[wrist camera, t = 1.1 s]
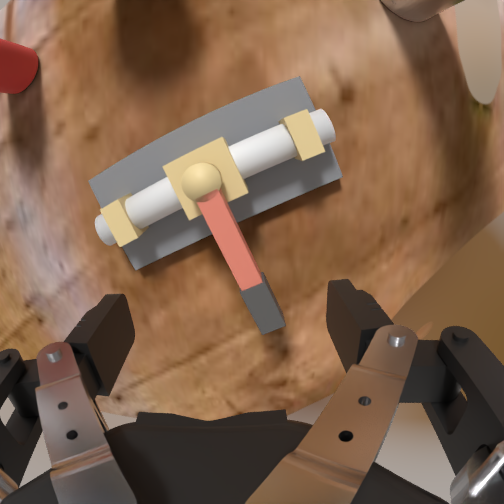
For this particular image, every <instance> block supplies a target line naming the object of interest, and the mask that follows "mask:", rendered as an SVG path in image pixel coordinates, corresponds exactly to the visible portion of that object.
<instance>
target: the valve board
mask: <svg viewBox="0 0 504 504" xmlns="http://www.w3.org/2000/svg"><path fill="white" fill-rule="evenodd" d="M335 139H336V136H335V131H334V128H333V125H332V123H331V121H330V119H329V117H328V115H327V114H326V113H325V111H324V110H322V109H319V110H315V108H314V106H313V103H312V101H311V99H310V97H309V95H308V93H307V90H306V88H305V86H304V84H303V82H302V80H301V78H300V76H299V77H296V78H293V79H290V80H288V81H285V82H282V83H279V84H277V85H274V86H271V87H269V88H266V89H264V90H261V91H259V92H256V93H254V94H251V95H249V96H246V97H244V98H242V99H239V100H237V101H235V102H232V103H230V104H228V105H226V106H223V107H221V108H219V109H217V110H215V111H212V112H210V113H208V114H206V115H204V116H202V117H200V118H198V119H196V120H194V121H192V122H190V123H188V124H186V125H184V126H182V127H180V128H178V129H176V130H174V131H172V132H170V133H168V134H166V135H164V136H163V137H161V138H159V139H157V140H155V141H153V142H152V143H150V144H148V145H146V146H144V147H143V148H141V149H139V150H137V151H136V152H134V153H132V154H131V155H129V156H127V157H126V158H124V159H122V160H121V161H119V162H117V163H116V164H114V165H112V166H111V167H109V168H108V169H106V170H105V171H103V172H101V173H100V174H98V175H97V176H95V177H94V178H92V179H91V180H89V181H88V182H89V184H90V186H91V188H92V190H93V192H94V194H95V196H96V198H97V200H98V202H99V204H100V206H101V208H102V209H101V210H100V211H101V213H102V214H100V215H99V216H97V217H96V219H95V227H96V231H97V233H98V235H99V237H100V238H101V240H102V241H103V242H104V243H105V244H107V245H113V244H115V243H116V242H117V243H118V245H119V247H121V246H122V248H123V249H124V251H125V253H126V255H127V256H128V258H129V260H130V262H131V263H132V265H133V267H134V269H135V270H137V269H139V268H142V267H144V266H146V265H148V264H150V263H152V262H154V261H156V260H158V259H160V258H162V257H164V256H167V255H169V254H171V253H173V252H175V251H177V250H179V249H181V248H184V247H186V246H188V245H190V244H192V243H194V242H196V241H199V240H201V239H203V238H205V237H207V236H209V235H212V232H211V230H210V228H209V226H208V224H207V222H206V220H205V218H204V216H203V214H202V212H201V210H200V208H199V206H198V204H197V202H195V201H192V200H191V199H189V198H188V197H187V196H186V195H185V194H184V192H183V190H182V186H181V180H182V176H183V174H184V172H185V171H186V170H187V169H188V168H189V167H190V166H192V165H194V164H197V163H200V162H208V163H211V164H213V165H215V166H216V167H217V168H218V169H219V171H220V173H221V175H222V185H221V188H220V189H221V191H222V193H223V195H224V197H225V199H226V201H227V203H228V205H229V207H230V209H231V212H232V214H233V216H234V218H235V220H236V222H237V223H238V222H240V221H242V220H245V219H247V218H249V217H251V216H254V215H256V214H258V213H260V212H263V211H265V210H267V209H269V208H272V207H274V206H276V205H278V204H281V203H283V202H285V201H288V200H290V199H292V198H295V197H297V196H299V195H301V194H304V193H306V192H308V191H311V190H313V189H316V188H318V187H320V186H323V185H325V184H327V183H330V182H332V181H334V180H337V179H339V178H342V177H343V176H342V173H341V171H340V168H339V165H338V163H337V160H336V158H335V155H334V153H333V150H332V148H331V145H330V143H331V142H334V141H335Z"/></svg>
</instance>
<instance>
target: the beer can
mask: <svg viewBox="0 0 504 504" xmlns="http://www.w3.org/2000/svg"><path fill="white" fill-rule="evenodd" d="M37 68H38V56H37V54H36V52H35V51H34V50H33V49H30V48H27V47H24V46H22V45H19V44H16V43H12V42H9V41H6V40H3V39H0V92H1V93H10V94H16V93H20V92H21V91H23V90H25V89H26V88H27V87H28V86H29V85H30V83H31V82H32V80H33V79H34V77H35V75H36V72H37Z"/></svg>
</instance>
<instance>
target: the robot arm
mask: <svg viewBox="0 0 504 504" xmlns="http://www.w3.org/2000/svg"><path fill="white" fill-rule="evenodd" d="M381 1H382V2H383V3H384V4H385V6H386V7H387V8H389V9H390V10H391V11H392V12H393V13H395V14H396V15H398V16H400V17H402V18H404V19H406V20H409V21H413V22H422V21H425V20H427V19H429V18H431V17H433V16H435V15H436V14H438V13H440V12H442V11H444V10H446V9H448V8H450V7H452V6H454V5H456V4H458V3H460V2H462V1H464V0H381ZM326 322H327V328H328V332H329V334H330V336H331V339H332V341H333V343H334V346H335V348H336V350H337V352H338V355H339V357H340V359H341V362H342V364H343V367H344V369H345V371H346V375H345V377H344V379H343V380H342V382H341V384H340V385H339V387H338V388H337V390H336V392H335V393H334V395H333V396H332V398H331V399H330V401H329V403H328V404H327V405H326V407H325V408H324V410H323V411H322V413H321V415H320V416H319V417H318V419H317V420H316V422H315V423H314V425H311V424H308V423H303V422H299V421H293V420H287V416H286V409H285V410H275V411H263V412H248V413H244V414H240V415H236V416H231V417H227V418H222V419H218V420H213V421H204V420H199V419H194V418H190V417H185V416H181V415H176V414H169V413H148V412H139V413H138V416H137V419H136V422H133V423H128V424H124V425H121V426H118V427H115V428H113V429H110V430H109V428H108V426H107V424H106V422H105V419H104V417H103V415H102V413H101V411H100V409H99V406H98V404H97V402H96V400H95V398H96V395H102V396H109V395H110V393H111V391H112V388H113V386H114V384H115V382H116V379H117V377H118V375H119V373H120V371H121V368H122V366H123V364H124V362H125V360H126V357H127V355H128V353H129V351H130V349H131V347H132V345H133V343H134V339H135V329H134V325H133V321H132V318H131V314H130V310H129V306H128V302H127V299H126V296H125V295H124V294H106V295H105V296H104V297H103V298H102V300H101V301H100V302H99V304H98V305H97V306H95V307H94V308H92V309H91V310H89V311H88V312H86V314H85V315H84V316H83V317H82V319H81V321H79V323H78V324H77V327H75V328H74V329H73V330H72V332H71V333H70V334H69V335H68V337H67V338H66V339H65V341H64V342H55V343H52V344H49V345H47V346H45V347H44V348H43V349H41V350H40V351H39V353H38V355H37V359H32V360H25V361H23V359H22V357H21V355H20V353H19V351H18V350H16V349H6V350H3V351H1V352H0V409H1V407H2V405H3V403H4V402H5V400H6V398H7V397H8V398H9V399H10V401H11V402H12V404H13V406H14V407H15V410H14V412H13V414H12V415H11V417H10V419H9V420H8V422H7V424H6V426H5V425H4V424H3V423H2V421H1V418H0V504H449V503H448V502H446V501H445V500H443V499H441V498H440V497H438V496H436V495H434V494H432V493H430V492H428V491H425V490H424V489H422V488H420V487H418V486H416V485H414V484H412V483H411V482H409V481H407V480H405V479H403V478H402V477H400V476H398V475H396V474H394V473H393V472H391V471H389V470H387V469H386V468H384V467H382V466H380V465H379V464H377V463H376V462H375V460H376V458H377V456H378V454H379V452H380V449H381V447H382V445H383V443H384V440H385V438H386V435H387V433H388V430H389V428H390V426H391V423H392V421H393V418H394V416H395V413H396V410H397V408H398V405H399V403H422V405H423V407H424V409H425V411H426V413H427V415H428V417H429V419H430V421H431V423H432V425H433V427H434V430H435V431H436V434H437V436H438V438H439V440H440V442H441V444H442V447H443V449H444V451H445V453H446V455H447V457H448V460H449V462H450V464H451V466H452V469H453V471H454V473H455V476H456V477H455V478H454V479H453V481H452V483H451V486H450V495H451V504H504V366H503V365H502V363H501V362H500V361H499V360H498V359H497V358H496V356H495V355H494V354H493V353H492V352H491V351H490V349H489V348H488V347H487V346H486V345H485V344H484V343H483V342H482V340H481V339H480V338H479V337H478V336H477V335H476V334H475V333H474V332H473V331H471V330H469V329H467V328H464V327H460V326H451V327H447V328H445V329H444V330H443V331H442V333H441V336H440V339H439V340H418V337H417V335H416V333H415V332H414V331H413V330H411V329H409V328H408V327H405V326H401V325H394V323H393V322H392V321H391V320H390V318H389V317H388V316H387V314H386V313H385V312H384V310H383V309H381V307H380V305H379V304H378V303H377V302H376V300H375V299H374V298H373V297H372V295H370V294H368V293H367V292H365V291H363V290H356V289H355V287H354V286H353V285H352V283H351V282H350V281H349V279H342V280H332V281H329V283H328V293H327V313H326ZM461 388H462V389H463V391H464V392H465V394H466V396H467V401H466V399H465V397H464V396H463V394H462V393H461V391H460V390H461ZM42 431H43V434H44V439H45V443H46V447H47V450H48V454H49V458H50V461H51V465H52V468H51V469H49V470H48V471H46V472H44V473H43V474H41V475H40V476H38V477H37V478H35V479H33V480H32V481H30V482H28V483H27V484H25V485H23V486H22V487H20V488H19V486H20V483H21V481H22V478H23V476H24V473H25V471H26V468H27V465H28V463H29V460H30V458H31V456H32V454H33V451H34V449H35V447H36V444H37V442H38V440H39V438H40V435H41V433H42Z"/></svg>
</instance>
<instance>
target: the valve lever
mask: <svg viewBox="0 0 504 504" xmlns="http://www.w3.org/2000/svg"><path fill="white" fill-rule="evenodd" d="M221 185H222V175H221V173H220V171H219V169H218V168H217V167H216V166H215V165H213V164H211V163H208V162H200V163H197V164H194V165H192V166H190V167H189V168H188V169H187V170H186V171H185V172H184V174H183V176H182V180H181V186H182V190H183V192H184V194H185V195H186V196H187V197H188V198H189V199H191V200H192V201H195V202H197V204H198V206H199V208H200V210H201V212H202V214H203V216H204V218H205V220H206V222H207V224H208V226H209V228H210V230H211V232H212V234H213V236H214V238H215V240H216V242H217V244H218V246H219V248H220V250H221V252H222V253H223V255H224V257H225V259H226V261H227V263H228V265H229V267H230V269H231V271H232V273H233V275H234V277H235V279H236V281H237V283H238V284H239V286H240V294H241V296H242V298H243V300H244V302H245V303H246V305H247V307H248V309H249V311H250V313H251V315H252V317H253V318H254V320H255V322H256V324H257V326H258V328H259V330H260V331H261V333H262V335H264V334H266V333H269V332H271V331H274V330H276V329H279V328H281V327H284V326H286V324H285V320H284V316H283V313H282V310H281V308H280V306H279V304H278V302H277V300H276V298H275V296H274V294H273V292H272V290H271V287H270V285H269V283H268V281H267V279H266V277H265V275H264V273H263V272H260V270H259V268H258V266H257V264H256V262H255V259H254V257H253V255H252V253H251V251H250V249H249V247H248V245H247V243H246V241H245V239H244V237H243V234H242V232H241V230H240V228H239V226H238V224H237V222H236V220H235V218H234V216H233V214H232V212H231V209H230V207H229V205H228V203H227V201H226V199H225V197H224V195H223V193H222V191H221V189H220V188H221Z"/></svg>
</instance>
